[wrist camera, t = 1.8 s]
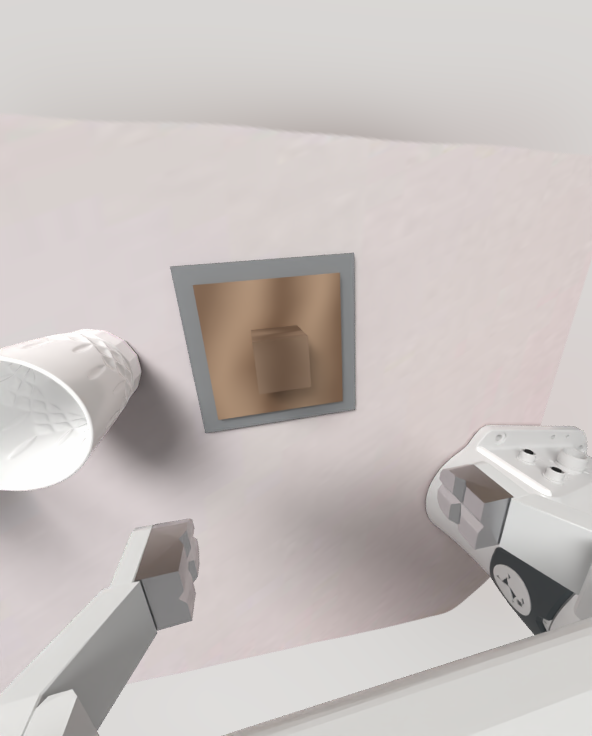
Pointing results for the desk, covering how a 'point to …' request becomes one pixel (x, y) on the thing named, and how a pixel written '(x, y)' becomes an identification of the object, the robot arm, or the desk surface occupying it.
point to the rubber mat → (253, 271)
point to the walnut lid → (272, 343)
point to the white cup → (60, 403)
